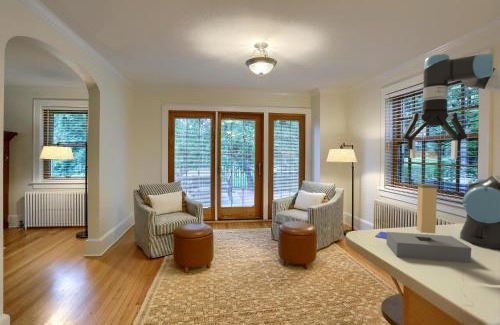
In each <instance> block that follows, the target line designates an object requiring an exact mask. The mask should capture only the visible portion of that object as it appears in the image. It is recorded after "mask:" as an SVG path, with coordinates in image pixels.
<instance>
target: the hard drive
mask: <svg viewBox="0 0 500 325" xmlns="http://www.w3.org/2000/svg"><path fill="white" fill-rule="evenodd" d="M387 232H388V231H387ZM387 232H386V231H379V232H378V233H376V235H375V236H374V237H375V238H379V239H384V240H387Z"/></svg>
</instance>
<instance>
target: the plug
mask: <svg viewBox="0 0 500 325" xmlns="http://www.w3.org/2000/svg"><path fill="white" fill-rule="evenodd" d="M438 187H439V186H438V185H437V184H430V183H417V202H416V203H417V204H416V205H417V208H416V230H417V231H418V232H420V234H436V228H437V227H436V226H437V224H436V223H437V221H436V220H437V203H438V202H437V200H438V199H437V198H438V197H437V196H438Z"/></svg>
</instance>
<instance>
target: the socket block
mask: <svg viewBox="0 0 500 325" xmlns="http://www.w3.org/2000/svg"><path fill="white" fill-rule="evenodd" d="M386 245H387V247H388V248H389V249H390V250H391V252H392V253H393V255H394V256H396V258H406V259H418V260H419V259H420V260H427V261H428V260H431V261H440V262H443V261H444V262H453V263H454V262H456V263H467V264H471V261H472V247H470V246H468V245H467V244H465V243H464V242H462V241H460V240H459V239H457V238H455V237H454V236H452V235H441V234H439V235H438V234H429V233H413V232H412V233H409V232H395V231H387V239H386Z"/></svg>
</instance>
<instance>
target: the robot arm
mask: <svg viewBox="0 0 500 325" xmlns="http://www.w3.org/2000/svg"><path fill="white" fill-rule="evenodd" d="M423 65H424V66H423V84H422V85H423V87H422V89H423V92H422V100H423V102H422V109H421V110H422V113H417V112H415V113H414V114H412V118H411V121H410V122H409V124H408V126H407V128H406V130H405V131H404V133H403V135H402V139H403V140H406V141H407V149H408V150H409V159H415V158H416V157H415V156H416V140H415V138H416V137H417V136H418V135H419V134H420V133H421V131H423V130H424V128H426V127H432V126H435V127H438V126H439V127H442V128H443V129H444V130H445V132H446V133H447V134H448V136H450V137H451V138H452V140H451V142H450V143H451V144H450V145H451V146H450V158H451V160H452V159H453V160H456V159H458V150H460V149H461V141H462V140H465V139H467V138H468V136H467V135H468V134H466V132H465V130H464V128H463V127H462V126H463V125H462V124H461V123H460V120H459V117H458V112H451V113H448V102H449V101H448V100H449V99H448V100H447V98H448V97H449V96H448V95H449V82H457V81H458V82H459V81H460V82H461V83H462V84H463V85H464V86H465V87H467V88H473V89H475V88H478V89H481V90H485V91H486V90H487V91H491V92H493V93H500V68H498V67H497V68H495V67H494V54H493V53H490V52H488V53H479V54H475V55H470V56H464V57H458V58H453V59H452V58H450V56H449V55H448V54H445V53H441V54H439V53H438V54H434V55H431V56H428V57H427V58H426V59H425V60H424V64H423ZM420 119H421V120H422V122H421V123H420V124H419V126H418V127H417V128H416V129H415V130H414V131H413V129H414V128H415V125H416V123H417V122H418V120H420ZM447 119H449V120H450V122H451V125H452V126H453V127H454V129H453V127H452V126H451V125H450V124H449V122H448V121H447ZM412 131H413V132H412ZM411 132H412V133H411ZM466 187H467V191H466V192H465V194H464V195H463V197H462V206H463V209H464V211H465V212H466V220H465V221H464V223H463V226H462V228H461V230H460V233H459V239H460V240H463V241H465V242H467V243H469V244H471V245H473V246H478V247H482V248H487V249H488V248H489V249H495V250H496V249H497V250H500V174H492V175H491V176H489V177H488V178H486V179H485V178H483V179H481V178H479V179H477V178H476V179H475V178H473V179H469V180H468V182H467V185H466Z"/></svg>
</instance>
